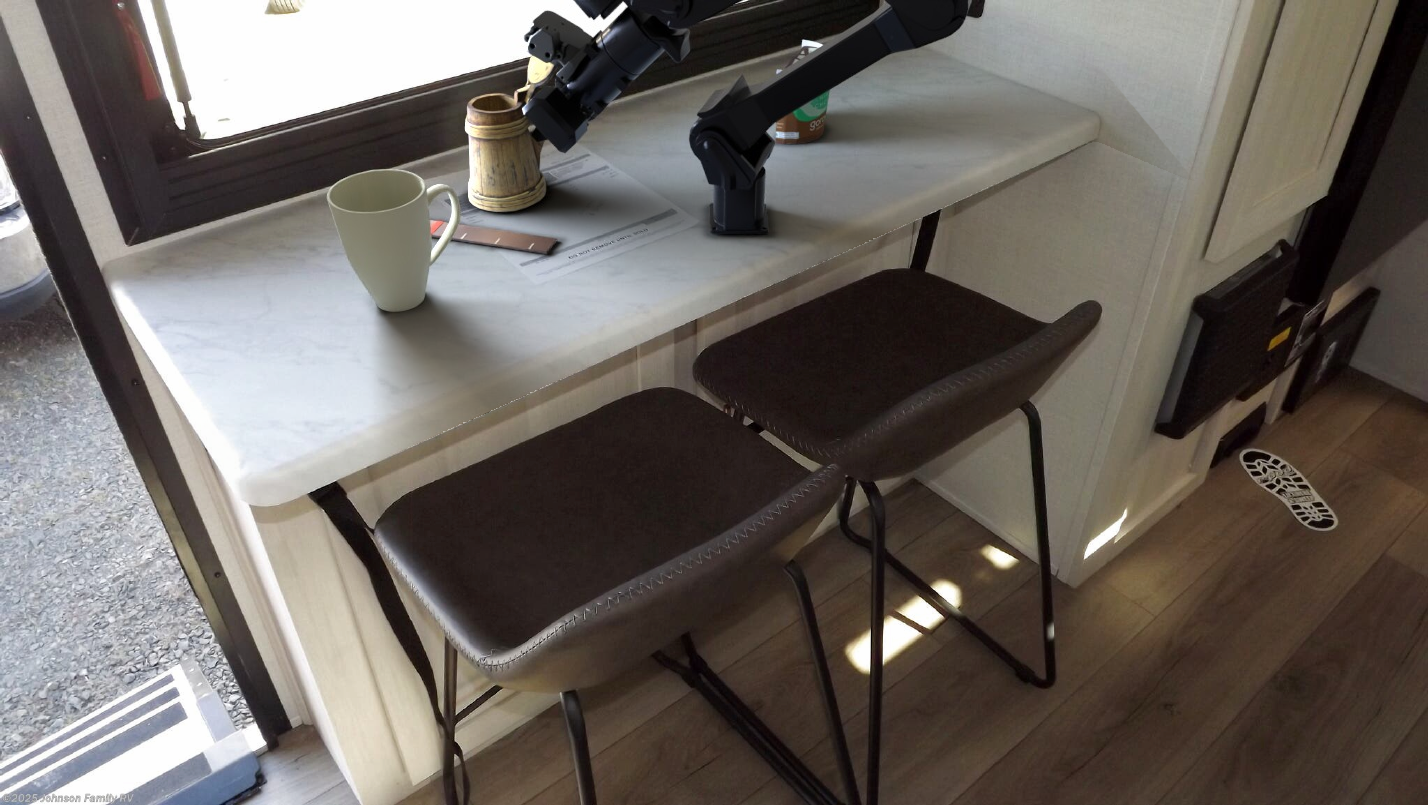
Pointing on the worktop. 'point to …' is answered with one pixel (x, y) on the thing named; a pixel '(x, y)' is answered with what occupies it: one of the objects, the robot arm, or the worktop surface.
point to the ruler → (495, 237)
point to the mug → (390, 232)
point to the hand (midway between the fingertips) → (535, 137)
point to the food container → (803, 111)
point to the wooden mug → (506, 146)
